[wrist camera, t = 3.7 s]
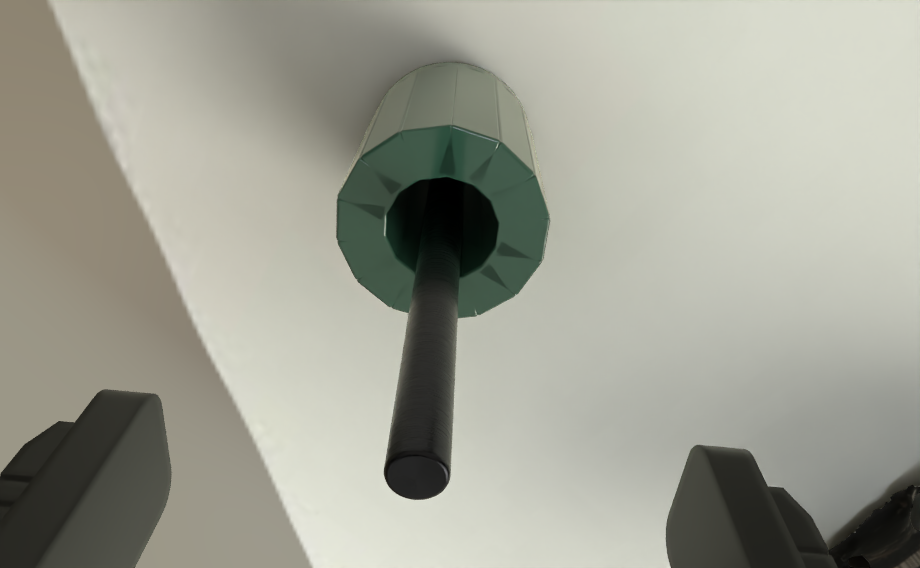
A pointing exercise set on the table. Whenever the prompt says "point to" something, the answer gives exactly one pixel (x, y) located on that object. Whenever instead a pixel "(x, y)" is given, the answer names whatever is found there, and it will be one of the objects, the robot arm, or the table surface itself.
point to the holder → (436, 156)
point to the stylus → (429, 354)
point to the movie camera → (884, 536)
